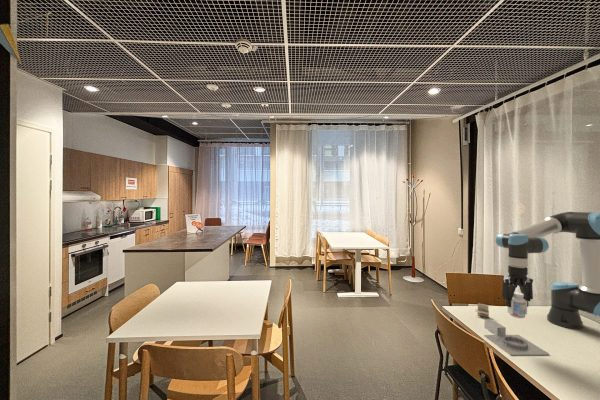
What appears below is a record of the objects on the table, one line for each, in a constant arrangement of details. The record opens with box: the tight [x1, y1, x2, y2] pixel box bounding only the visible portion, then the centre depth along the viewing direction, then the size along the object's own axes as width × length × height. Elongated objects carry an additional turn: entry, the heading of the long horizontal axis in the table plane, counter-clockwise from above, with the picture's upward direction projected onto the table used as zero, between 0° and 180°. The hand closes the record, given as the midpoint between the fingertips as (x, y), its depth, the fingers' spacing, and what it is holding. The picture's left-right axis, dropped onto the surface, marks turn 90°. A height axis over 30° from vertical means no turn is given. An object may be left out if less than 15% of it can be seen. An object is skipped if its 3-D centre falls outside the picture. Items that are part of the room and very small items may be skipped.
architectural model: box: [474, 303, 490, 319], centre depth 172 cm, size 3×7×7 cm, turn 56°
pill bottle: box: [509, 291, 526, 319], centre depth 138 cm, size 6×6×11 cm
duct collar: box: [483, 318, 550, 356], centre depth 143 cm, size 18×28×4 cm, turn 1°
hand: (517, 313), depth 138 cm, fingers closed on pill bottle, 6 cm apart
